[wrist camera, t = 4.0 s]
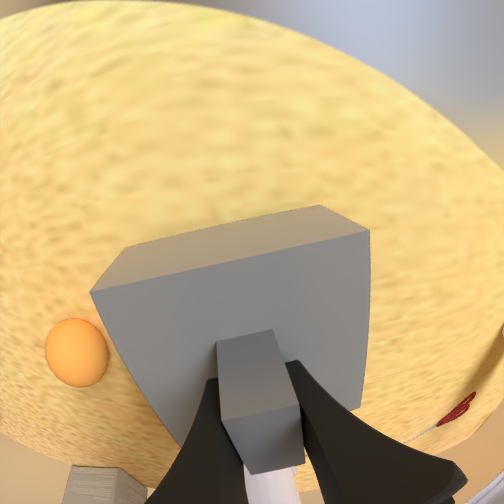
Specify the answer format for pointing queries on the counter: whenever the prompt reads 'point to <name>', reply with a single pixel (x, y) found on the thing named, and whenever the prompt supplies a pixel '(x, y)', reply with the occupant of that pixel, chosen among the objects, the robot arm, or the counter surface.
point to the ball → (76, 353)
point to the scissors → (452, 414)
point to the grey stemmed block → (244, 323)
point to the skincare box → (102, 487)
